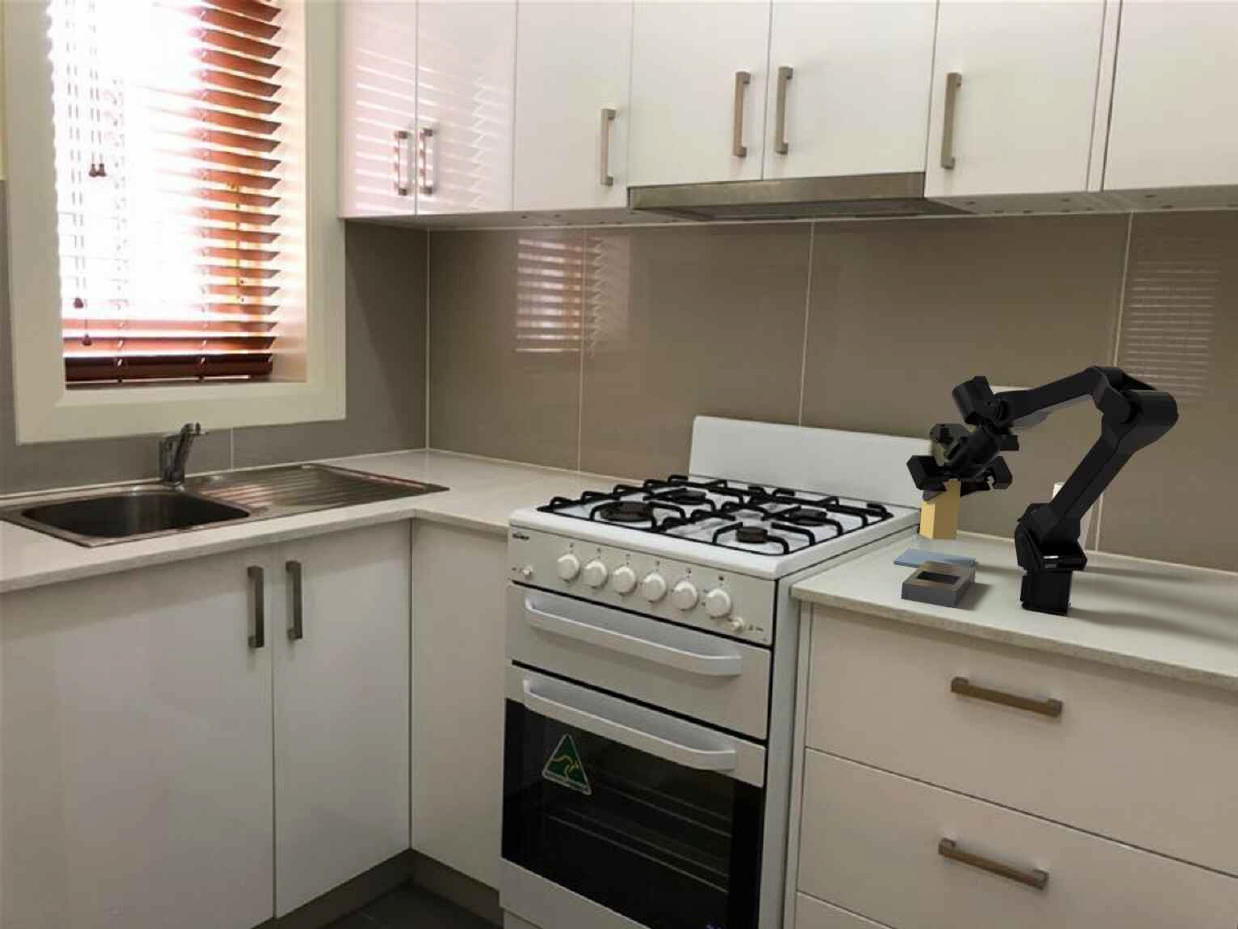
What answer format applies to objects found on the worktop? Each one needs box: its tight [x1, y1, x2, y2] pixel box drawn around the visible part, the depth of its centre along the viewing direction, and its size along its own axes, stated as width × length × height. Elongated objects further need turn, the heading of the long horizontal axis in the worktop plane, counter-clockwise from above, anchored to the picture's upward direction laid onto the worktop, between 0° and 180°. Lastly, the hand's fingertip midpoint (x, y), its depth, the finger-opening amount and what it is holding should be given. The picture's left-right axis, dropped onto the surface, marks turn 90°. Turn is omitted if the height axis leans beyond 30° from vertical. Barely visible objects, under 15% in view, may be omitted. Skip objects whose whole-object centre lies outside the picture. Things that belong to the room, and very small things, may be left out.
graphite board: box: [900, 560, 977, 608], centre depth 160 cm, size 8×18×2 cm, turn 151°
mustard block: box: [919, 480, 961, 541], centre depth 177 cm, size 5×5×11 cm
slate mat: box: [892, 548, 976, 569], centre depth 179 cm, size 12×12×1 cm
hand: (936, 499), depth 178 cm, fingers closed on mustard block, 5 cm apart
